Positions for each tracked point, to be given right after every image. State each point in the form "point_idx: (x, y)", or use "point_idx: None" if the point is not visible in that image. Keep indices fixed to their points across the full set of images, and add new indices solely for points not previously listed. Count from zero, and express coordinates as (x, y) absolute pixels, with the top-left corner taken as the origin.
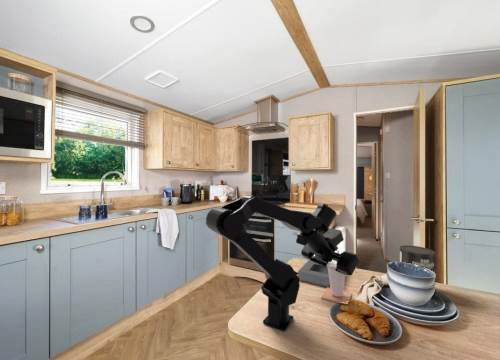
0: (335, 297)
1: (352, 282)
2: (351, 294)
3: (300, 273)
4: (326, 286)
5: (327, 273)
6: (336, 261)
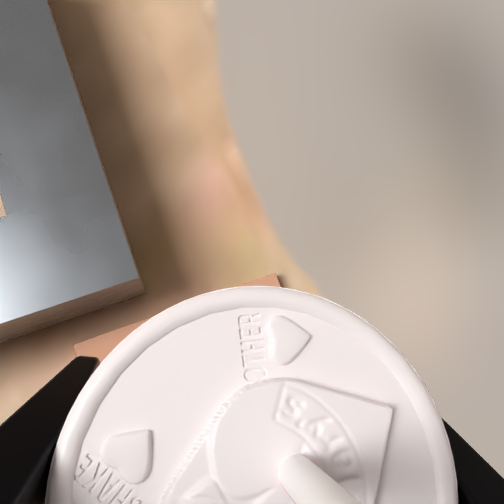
0: None
1: (170, 72)
2: (276, 282)
3: None
4: (55, 323)
5: None
6: (170, 332)
